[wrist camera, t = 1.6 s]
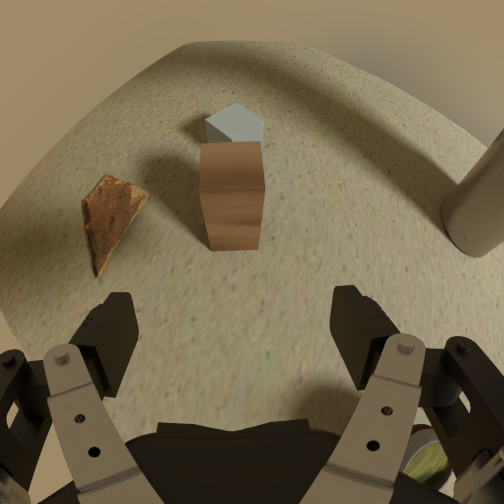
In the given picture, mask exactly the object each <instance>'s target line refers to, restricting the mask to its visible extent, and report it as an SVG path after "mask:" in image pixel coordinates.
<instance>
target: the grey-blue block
mask: <svg viewBox="0 0 504 504" xmlns="http://www.w3.org/2000/svg"><path fill="white" fill-rule="evenodd" d="M205 125H206V134H207V142H208V143H218V142H249V141H261V151H262V145H263V132H264V120H262V119H261V118H259V117H258V116H257V115H255V114H254V113H252V112H251V111H249V110H248V109H246V108H244V107H243V106H241V105H240V104H238V103H237V102H236V103H234V104H232V105H230V106H229V107H227V108H225V109H223V110H221V111H219V112H217V113H216V114H214V115H212V116H210V117H208V118H207V119H205Z"/></svg>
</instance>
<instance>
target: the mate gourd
mask: <svg viewBox="0 0 504 504" xmlns="http://www.w3.org/2000/svg"><path fill="white" fill-rule="evenodd" d="M399 471H401V472H403V473H405V474H407V475H408V476H410V477H412V478H414V479H416V480H418V481H420V482H421V483H423V484H425V485H427V486H429V487H431V488H433V489H435V490H437V491H440V490H441V489H442V488H443V487H444V486H445V485H446V483H447V482H448V480H449V479H450V477H451V475H452V473H453V469H452V467H451V465H450V463H449V461H448V458H447V456H446V454H445V452H444V450H443V448H442V446H441V444H440V442H439V439H438V437H437V435H436V433H435V431H434V429H433V427H431V426H429V425H426V424H416V425H413V427H412V430H411V434H410V437H409V441H408V444H407V447H406V450H405V453H404V456H403V459H402V462H401V465H400V468H399Z"/></svg>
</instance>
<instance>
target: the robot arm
mask: <svg viewBox="0 0 504 504" xmlns="http://www.w3.org/2000/svg"><path fill="white" fill-rule="evenodd" d="M442 219H443V223H444V226H445V229H446V231H447V233H448V235H449V236H450V238H451V239H452V241H453V242H454V243H455V245H456V246H457V247H458V248H459V249H460V250H462V251H463V252H464V253H466V254H468V255H469V256H472V257H482V256H484V255H486V254H487V253H488V252H490V251H491V250H493V249H494V248H495V247H497V246H498V245H500V244H501V243H502V242H504V128H503V130H502V131H501V132H500V134H499V135H498V137H497V138H496V139H495V140H494V142H493V143H492V144H491V146H490V147H489V148H488V149H487V151H486V152H485V153H484V154H483V156H482V157H481V158H480V159H479V161H478V162H477V163H476V164H475V165H474V167H473V168H472V169H471V170H470V171H469V173H468V174H467V175H466V176H465V177H464V179H463V180H462V181H461V182H460V183H459V184H458V185H457V186H456V188H455V189H454V190H453V191H452V192H451V193H450V194H449V196H448V197H447V198H446V199H445V200H444V202H443V205H442ZM330 332H331V335H332V337H333V339H334V341H335V343H336V346H337V348H338V350H339V352H340V354H341V356H342V358H343V360H344V363H345V365H346V367H347V369H348V371H349V373H350V376H351V378H352V380H353V382H354V384H355V387H356V389H357V391H359V390H364V393H363V395H362V397H361V399H360V401H359V403H358V405H357V407H356V410H355V412H354V414H353V416H352V418H351V420H350V422H349V424H348V426H347V427H346V429H345V431H344V433H343V435H342V436H340V435H337V434H335V433H332V432H328V431H324V430H319V429H311V428H310V427H309V423H308V419H307V418H306V419H297V420H288V421H277V422H269V423H265V424H262V425H258V426H254V427H250V428H246V429H242V430H238V431H225V430H220V429H215V428H210V427H205V426H200V425H196V424H180V423H162V422H158V426H157V431H156V433H150V434H146V435H142V436H139V437H136V438H134V439H132V440H129V441H128V442H126V443H124V442H123V440H122V439H121V437H120V435H119V433H118V431H117V430H116V428H115V426H114V424H113V422H112V420H111V418H110V417H109V415H108V413H107V411H106V409H105V407H104V405H103V403H102V400H103V398H104V396H105V397H113V398H116V395H117V392H118V390H119V387H120V384H121V382H122V379H123V376H124V374H125V371H126V368H127V366H128V363H129V361H130V358H131V356H132V353H133V351H134V348H135V346H136V343H137V341H138V335H139V330H138V323H137V319H136V315H135V310H134V306H133V301H132V297H131V294H130V293H129V292H111V293H110V294H109V296H108V297H107V299H106V300H105V302H104V303H103V304H99V305H98V306H97V307H95V308H94V309H92V310H91V311H90V313H89V314H88V315H87V317H86V319H85V320H84V321H83V322H82V324H81V326H80V327H79V328H78V330H77V331H76V333H75V334H74V336H73V337H72V338H71V340H70V341H69V343H68V344H61V345H57V346H55V347H53V348H51V349H50V350H49V351H48V352H47V353H46V354H45V356H44V358H43V360H38V361H29V362H27V359H26V358H25V355H24V353H23V352H22V351H20V350H17V349H13V350H8V351H6V352H4V353H2V354H0V504H31V500H30V497H29V494H28V491H29V487H30V484H31V481H32V478H33V474H34V471H35V468H36V465H37V462H38V460H39V457H40V454H41V451H42V448H43V445H44V443H45V440H46V437H47V435H48V432H49V430H50V427H51V425H52V422H53V423H54V426H55V430H56V433H57V437H58V440H59V443H60V446H61V448H62V451H63V454H64V457H65V460H66V462H67V465H68V468H69V470H70V473H71V475H72V477H73V481H71V482H70V483H68V484H67V485H65V486H64V487H62V488H61V489H59V490H58V491H56V492H55V493H53V494H52V495H50V496H49V497H47V498H46V499H44V500H43V501H41V502H39V503H38V504H504V376H503V375H502V373H501V372H500V371H499V370H498V369H497V367H496V366H495V365H494V364H493V362H492V361H491V360H490V359H489V358H488V357H487V355H486V354H485V353H484V352H483V351H482V350H481V348H480V347H479V346H478V345H477V344H476V343H475V342H474V341H472V340H471V339H469V338H466V337H462V336H454V337H451V338H449V339H448V340H447V342H446V345H445V347H444V349H431V348H425V345H424V343H423V342H422V341H421V340H420V339H419V338H417V337H415V336H413V335H410V334H403V333H400V331H399V330H398V329H397V327H396V326H395V325H394V324H393V322H392V321H391V320H390V319H389V317H388V316H387V315H386V313H385V312H384V311H382V308H381V307H380V306H379V305H378V303H377V302H376V301H374V300H372V299H371V298H369V297H367V296H362V294H361V293H360V292H359V290H358V289H357V288H356V287H355V286H354V285H345V286H336V287H335V288H334V292H333V299H332V307H331V315H330ZM462 391H463V392H464V394H465V395H466V397H467V398H468V400H469V402H470V407H471V409H470V414H469V412H468V411H467V409H466V407H465V406H464V404H463V403H462V401H461V399H460V398H459V395H460V394H461V392H462ZM13 402H14V403H15V404H16V406H17V407H18V409H19V410H18V413H17V414H16V416H15V419H14V421H13V423H12V425H11V427H10V429H9V428H8V425H7V421H6V417H7V414H8V412H9V410H10V407H11V406H12V404H13ZM418 407H422V408H423V410H424V412H425V413H426V415H427V417H428V419H429V421H430V423H431V425H432V427H433V429H434V431H435V433H436V435H437V437H438V439H439V442H440V444H441V446H442V448H443V450H444V452H445V454H446V456H447V458H448V461H449V463H450V465H451V467H452V469H453V472H454V474H455V476H456V478H457V479H456V481H455V484H454V496H453V498H452V497H450V496H447V495H445V494H443V493H441V492H439V491H437V490H435V489H433V488H431V487H429V486H427V485H425V484H423V483H421V482H420V481H418V480H416V479H414V478H412V477H410V476H408V475H407V474H405V473H403V472H401V471H399V468H400V465H401V462H402V459H403V456H404V453H405V450H406V447H407V444H408V441H409V437H410V434H411V430H412V427H413V423H414V419H415V416H416V412H417V408H418Z"/></svg>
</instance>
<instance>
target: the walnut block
mask: <svg viewBox="0 0 504 504" xmlns="http://www.w3.org/2000/svg"><path fill="white" fill-rule="evenodd" d="M198 191H199V196H200V201H201V206H202V211H203V215H204V220H205V225H206V229H207V234H208V239H209V243H210V248H211V251H235V250H258V247H259V238H260V229H261V220H262V212H263V203H264V194H265V181H264V171H263V161H262V151H261V141H249V142H218V143H201V155H200V170H199V187H198Z"/></svg>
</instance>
